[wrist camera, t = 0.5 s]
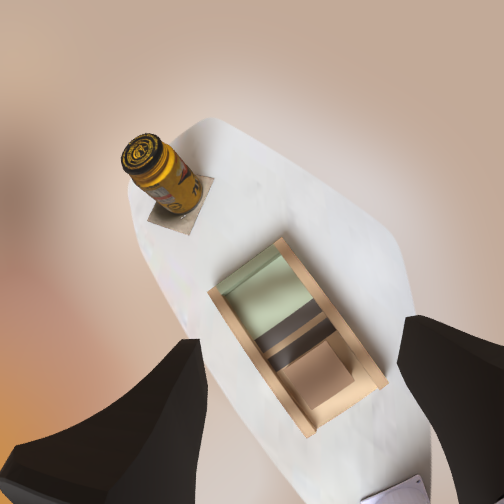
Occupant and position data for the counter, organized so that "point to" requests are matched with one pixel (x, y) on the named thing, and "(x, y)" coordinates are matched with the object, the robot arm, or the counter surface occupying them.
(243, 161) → the counter surface
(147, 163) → the condiment
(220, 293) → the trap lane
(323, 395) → the walnut block
